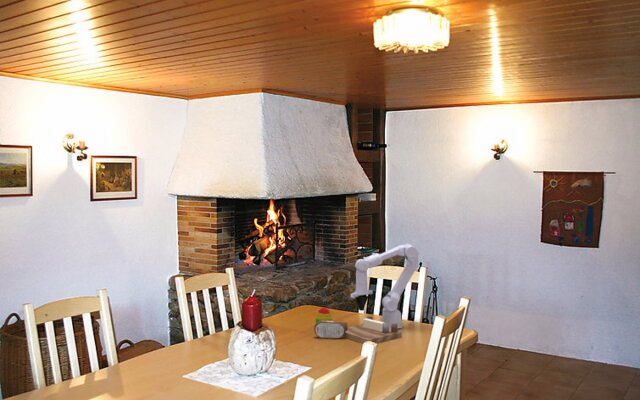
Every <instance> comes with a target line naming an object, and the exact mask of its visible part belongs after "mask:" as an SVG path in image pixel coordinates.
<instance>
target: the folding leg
mask: <svg viewBox="0 0 640 400" xmlns="http://www.w3.org/2000/svg"><path fill="white" fill-rule="evenodd" d="M362 324H363V327H364V328H368V329H372V330H376V331H380V332H383V333H389V323H384V322H382V321H381V320H375V319H373V320H371V319H367V317H365V318H363V320H362Z"/></svg>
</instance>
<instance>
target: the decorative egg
mask: <svg viewBox="0 0 640 400" xmlns="http://www.w3.org/2000/svg"><path fill="white" fill-rule="evenodd" d="M332 317H333V316H332V314H331V312H330V310H329V309H328V308H326V307H321V308H320V309H319V310H318V311H317V313H316V315H315V324H316V323H317V322H318V321H320V320H332V319H333V318H332Z"/></svg>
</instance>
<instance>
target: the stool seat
mask: <svg viewBox="0 0 640 400" xmlns="http://www.w3.org/2000/svg"><path fill="white" fill-rule="evenodd" d="M366 318H367V319H371V320H374V318H373V316H367V317H366ZM341 322H342V323H344V325H345V327H346V332H345V334H344V336H343V337H342V338H345V339H348V340H351V341H354V342H357V343H360V344H363V343H364V342H365V341H372V342H375V343H377V344H381V343H384V342H388V341H391V340H396V339H399V338H402V337H403V335H402V334H403V332H402V331H400V330H399V329H398V324H391V329H390V328H389V333H383V332H380V331H376V330H372V329H368V328H364V327H363V323H362V324H357V325H353V326H348V322H347V321H341ZM363 345H364V344H363Z"/></svg>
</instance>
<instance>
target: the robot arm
mask: <svg viewBox="0 0 640 400" xmlns="http://www.w3.org/2000/svg"><path fill="white" fill-rule="evenodd" d="M419 254H420V253H419V250H418V249H417V247H416V246H414V245H412V244H410V243H404V244H401V245H398V246H396V247H393V248H391V249H389V250H387V251H384V252H382V253H377V252H375V253H374V252H373V253H371V255H369V256H366V257H365V256H363V259H362V258H360V259H357V260H356V262H355V264H354V267H355V268H356V271H355V290H354V292H352V293H350V296H349V297H350V298H352V299H355V301H356V303H357V307H358V310H359V311H361V312H363V311H365V306H366V303H367V301H368V300H369V295H373V294H374V293H373V290H371V289H368V270H369V269H372V268H374V267H377V266H380V265H381V264H382V263H383V261H385V260H387V259H390V258H393V257H395V256H400V257H404V258H405V262H406V265H405V267H404V269H403V270H402V272H401V273H400V275H399V277H398V279H397V281H396V282H395V283H394V285H393V287H392V288H391V290H390V291H388V293H387V294H386V295H385V296H383V298H382V299H381V304H382V306H383V308H382V321H381V322H384V323H389V328H390V329H391V324H398V330H399V329H401V328H402V329H403V326H402V313H401V311H400V310H399V309H398V306H399V305H398V304H399V302H400V300H401V295H402V294H403V292H404V290H406V289H405V288H406V287H407V285H408V283H409V282H410V280H411V278H412V277H413V276H414V273H415V272H416V270H417V268H418V266H419Z"/></svg>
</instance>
